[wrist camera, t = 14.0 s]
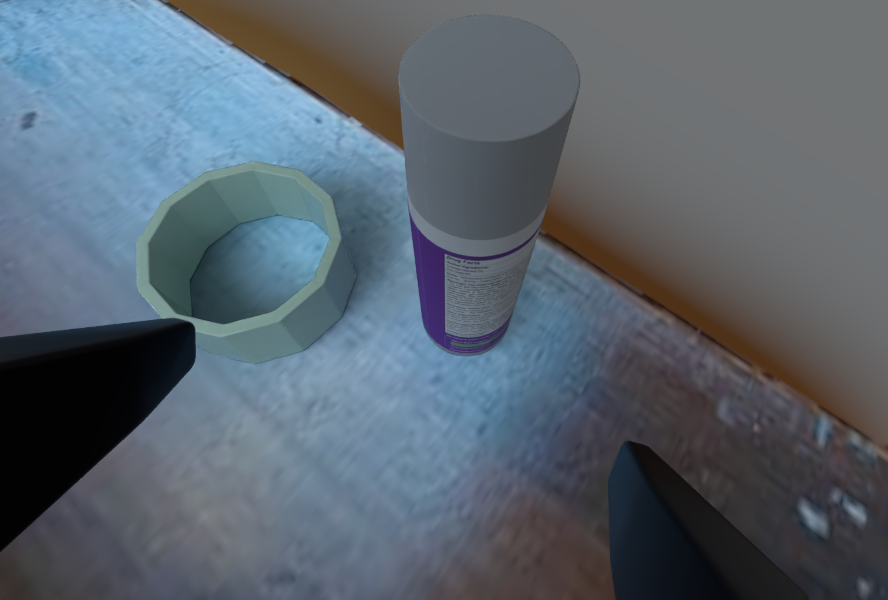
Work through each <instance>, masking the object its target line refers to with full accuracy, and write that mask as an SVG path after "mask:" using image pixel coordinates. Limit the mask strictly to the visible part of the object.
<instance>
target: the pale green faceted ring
mask: <svg viewBox="0 0 888 600" xmlns="http://www.w3.org/2000/svg"><path fill="white" fill-rule="evenodd" d="M274 215H282V216H287V217H292V218H297V219H302V220H307V221H312V222H314V223H315V224H316V225H317V226H318V227H319V228H321V229H322V230H323V231H324V232H325V233H326V234H327V235H328V236H329V238H330V239H329V242H328V244H327V247H326V249H325V251H324V254H323V256H322V259H321V261H320V264H319V266H318V269H317V271H316V274H315V276H314V278H313V279H312V280H311V281H310V282H309V283H308V284H306V285H305V286H304V287H303V288H302V289H300V290H299V291H298V292H297V293H296V294H294V295H293V296H292V297H291V298H290V299H288V300H287V301H286V302H285V303H284V304H282V305H281V306H280V307H279V308H278V309H276V310H275V311H273V312H269V313H265V314H262V315H258V316H254V317H250V318H246V319H242V320H239V321H235V322H231V323H227V324H219V323H215V322H211V321H206V320H202V319H198V318H193V317H192V307H191V293H190V280H191V278H192V276H193V274H194V272H195V270H196V268H197V266H198V265H199V263H200V261H201V259H202V257H203V255H204V253H205V251H206V250H207V248H208V247H209V246H210V245H212V244H213V243H214V242H216V241H217V240H218V239H220V238H221V237H222V236H224V235H225V234H227V233H228V232H229V231H231V230H232V229H233V228H235V227H236V226H237V225H239V224H241V223H245V222H249V221H253V220H258V219H262V218H266V217H270V216H274ZM136 267H137V290H138V291H139V293H140V294H141V295H142V296H143V297H144V298H145V299H146V301H147V302H148V303H149V304H150V305H151V306H152V308H153V309H154V310H155V311H156V312H157V313H158V315H159V316H160V317H161V318H162V319H165V318H178V319H182V320H186V321H189V322H191V323H193V324H194V326H195V330H196V345H198V346H199V347H201V348H202V349H204V350H205V351H206V352H208V353H210V354H214V355H218V356H222V357H227V358H231V359H235V360H239V361H243V362H247V363H252V364H257V363H261V362H264V361H268V360H271V359H275V358H279V357H282V356H286V355H290V354H293V353H297V352H301V351H304V350H305V349H307V348H308V347H309V346H310V345H311V344H312V343H313V342H314V341H316V340H317V339H318V338H319V337H320V336H321V335H322V334H323V333H325V332H326V331H327V330H328V329H329V328H330V327H331V326H333V325H334V324H335V323H336V322H337V321H338V320H339V319H340V318H341V317H342V315H343V312H344V309H345V307H346V304H347V301H348V298H349V296H350V293H351V290H352V287H353V285H354V282H355V279H356V272H355V268H354V264H353V260H352V256H351V252H350V248H349V243H348V240H347V237H346V234H345V231H344V228H343V225H342V223H341V220H340V217H339V214H338V211H337V209H336V206H335V203H334V200H333V198H332V196H330V195H329V194H328V193H327V192H326V191H324V190H323V189H322V188H321V187H320V186H319V185H317V184H316V183H315V182H314V181H313V180H311V179H310V178H309V177H308V176H307V175H306V174H304V173H303V172H302V171H301V170H298V169H293V168H287V167H282V166H277V165H272V164H266V163H261V162H256V161H255V162H254V161H253V162H249V163H244V164H240V165H235V166H231V167H226V168H222V169H217V170H213V171H208V172H205V173H203V174H202V175H200V176H199V177H197V178H196V179H194V180H193V181H191V182H190V183H188V184H187V185H185V186H184V187H182V188H181V189H179V190H178V191H176V192H175V193H173V194H172V195H171V196H169V197H168V198H166V199H165V200H163V202H161V204H160V205H159V207H158V209H157V210H156V212H155V214H154V215H153V217H152V218H151V220H150V222H149V223H148V225H147V227H146V228H145V230H144V231H143V233H142V235H141V236H140V238H139V240H138V241H137V244H136Z"/></svg>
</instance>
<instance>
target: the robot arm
mask: <svg viewBox="0 0 888 600" xmlns="http://www.w3.org/2000/svg"><path fill="white" fill-rule="evenodd" d="M195 358H196V330H195V326H194V324H193V323H191V322H189V321H186V320H182V319H178V318H165V319H156V320H148V321H139V322H130V323H121V324H113V325H104V326H95V327H86V328H77V329H69V330H60V331H51V332H42V333H34V334H25V335H16V336H7V337H0V552H1V551H2V550H3V549H4V548H5V547H7V546H8V545H9V544H10V543H11V542H12V541H13V540H14V539H15V538H16V537H17V536H19V535H20V534H21V533H22V532H23V531H24V530H25V529H26V528H27V527H28V526H30V525H31V524H32V523H33V522H34V521H35V520H36V519H37V518H38V517H39V516H40V515H42V514H43V513H44V512H45V511H46V510H47V509H48V508H49V507H50V506H51V505H52V504H54V503H55V502H56V501H57V500H58V499H59V498H60V497H61V496H62V495H63V494H65V493H66V492H67V491H68V490H69V489H70V488H71V487H72V486H73V485H74V484H75V483H77V482H78V481H79V480H80V479H81V478H82V477H83V476H84V475H85V474H86V473H87V472H89V471H90V470H91V469H92V468H93V467H94V466H95V465H96V464H97V463H98V462H100V461H101V460H102V459H103V458H104V457H105V456H106V455H107V454H108V453H109V452H110V451H112V450H113V449H114V448H115V447H116V446H117V445H118V444H119V443H120V442H121V441H122V440H124V439H125V438H126V437H127V436H128V435H129V434H130V433H131V432H132V431H133V430H134V429H135V428H137V427H138V426H139V425H140V424H141V423H142V422H143V421H144V420H145V419H146V418H147V417H148V416H149V414H150V413H151V412H152V411H153V410H154V409H155V408H156V407H157V406H158V405H159V404H160V402H161V401H162V400H163V399H164V398H165V397H166V396H167V395H168V394H169V393H170V391H171V390H172V389H173V388H174V387H175V386H176V385H177V384H178V383H179V381H180V380H181V379H182V378H183V377H184V376H185V375H186V374H187V373H188V372H189V370H190V369H191V368H192V366H193V365H194V362H195ZM608 502H609V536H610V560H611V570H612V578H613V585H614V592H615V598H616V600H809V597H808V595H807V594H806V593H805V592H804V591H803V590H802V589H801V588H800V587H799V586H798V585H797V584H795V583H794V582H793V581H792V580H791V579H790V578H789V577H788V576H787V575H786V574H785V573H784V572H783V571H782V570H780V569H779V568H778V567H777V566H776V565H775V564H774V563H773V562H772V561H771V560H770V559H769V558H768V557H766V556H765V555H764V554H763V553H762V552H761V551H760V550H759V549H758V548H757V547H756V546H755V545H754V544H753V543H751V542H750V541H749V540H748V539H747V538H746V537H745V536H744V535H743V534H742V533H741V532H740V531H739V530H738V529H736V528H735V527H734V526H733V525H732V524H731V523H730V522H729V521H728V520H727V519H726V518H725V517H724V516H722V515H721V514H720V513H719V512H718V511H717V510H716V509H715V508H714V507H713V506H712V505H711V504H710V503H709V502H707V501H706V500H705V499H704V498H703V497H702V496H701V495H700V494H699V493H698V492H697V491H696V490H695V489H694V488H692V487H691V486H690V485H689V484H688V483H687V482H686V481H685V480H684V479H683V478H682V477H681V476H680V475H679V474H677V473H676V472H675V471H674V470H673V469H672V468H671V467H670V466H669V465H668V464H667V463H666V462H665V461H663V460H662V459H661V458H660V457H659V456H658V455H657V454H656V453H655V452H654V451H653V450H652V449H651V448H650V447H648V446H646V445H643V444H640V443H636V442H632V441H625V442H624V443H623V444H622V446H621V448H620V450H619V453H618V455H617V458H616V460H615V463H614V466H613V468H612V471H611V473H610V476H609V481H608Z"/></svg>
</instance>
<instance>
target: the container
mask: <svg viewBox="0 0 888 600" xmlns="http://www.w3.org/2000/svg"><path fill="white" fill-rule="evenodd" d="M398 81H399V93H400V105H401V117H402V130H403V143H404V155H405V167H406V180H407V193H408V208H409V216H410V224H411V232H412V240H413V248H414V256H415V264H416V272H417V280H418V288H419V296H420V304H421V312H422V319H423V324H424V328H425V330H426V332H427V334H428V336H429V337H430V339H431V340H432V341H433V342H434V343H435V344H436V345H437V346H438V347H439V348H441V349H442V350H444V351H446V352H448V353H451V354H454V355H459V356H474V355H479V354H482V353H484V352H486V351H488V350H490V349H492V348H493V347H494V346H495V345H497V344H498V343H499V341H500V340H501V339H502V338H503V336H504V334H505V332H506V330H507V327H508V324H509V321H510V318H511V315H512V312H513V309H514V306H515V303H516V300H517V297H518V294H519V291H520V288H521V285H522V282H523V279H524V276H525V273H526V270H527V267H528V264H529V261H530V258H531V254H532V251H533V248H534V245H535V242H536V239H537V236H538V233H539V230H540V227H541V224H542V221H543V218H544V215H545V211H546V207H547V203H548V200H549V196H550V192H551V189H552V185H553V182H554V178H555V175H556V171H557V167H558V164H559V160H560V157H561V153H562V150H563V146H564V143H565V139H566V135H567V132H568V128H569V124H570V121H571V118H572V114H573V110H574V107H575V103H576V100H577V96H578V93H579V88H580V75H579V70H578V66H577V64H576V61H575V59H574V57H573V56H572V54H571V52H570V51H569V50H568V48H567V47H566V46H565V45H564V44H563V43H562V42H561V41H560V40H559V39H558V38H557V37H555V36H554V35H552V34H551V33H550V32H548V31H546V30H545V29H543V28H541V27H539V26H537V25H534V24H532V23H529V22H527V21H523V20H520V19H517V18H511V17H507V16H499V15H497V16H496V15H474V16H466V17H461V18H456V19H452V20H449V21H446V22H443V23H441V24H438V25H437V26H435V27H432V28H431V29H429V30H427V31H426V32H424V33H423V34H421V35H420V36H419V37H418V38H417V39H416V40H415V41H414V42H413V43H412V44H411V45H410V46H409V48H408V49H407V50H406V52H405V54H404V56H403V58H402V60H401V63H400V67H399V73H398Z"/></svg>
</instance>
